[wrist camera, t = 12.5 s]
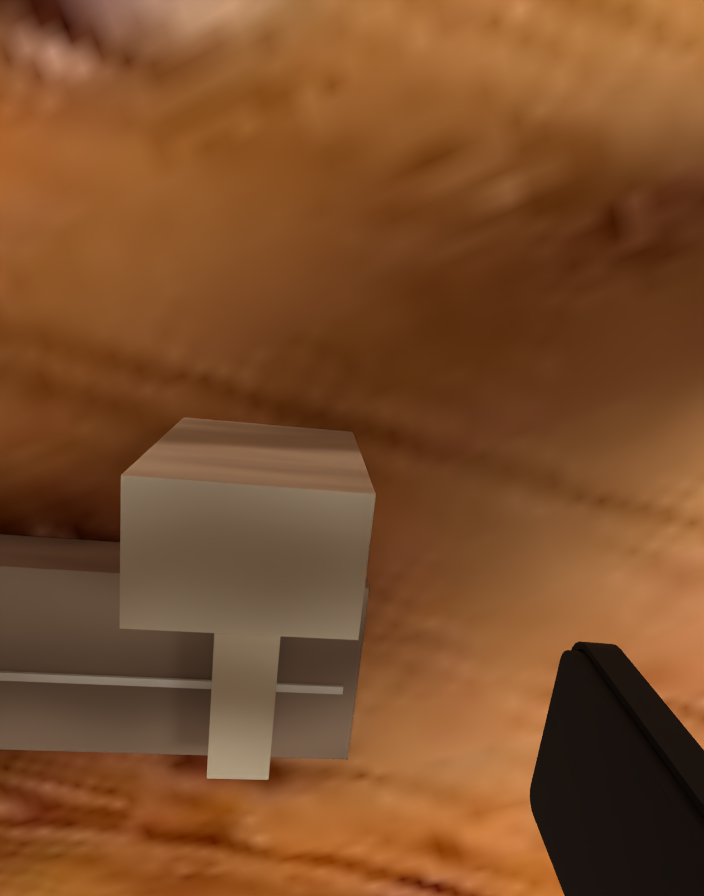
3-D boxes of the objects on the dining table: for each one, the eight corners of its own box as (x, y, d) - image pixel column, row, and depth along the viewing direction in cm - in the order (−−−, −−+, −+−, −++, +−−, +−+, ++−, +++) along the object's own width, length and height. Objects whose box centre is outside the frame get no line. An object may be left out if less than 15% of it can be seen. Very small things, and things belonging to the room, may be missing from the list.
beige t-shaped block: (183, 417, 20) (120, 474, 13) (352, 431, 20) (375, 494, 14) (174, 687, 22) (117, 852, 16) (324, 693, 23) (332, 854, 16)
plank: (-337, 512, 19) (-429, 541, 17) (362, 558, 22) (369, 590, 19) (-303, 690, 21) (-382, 740, 18) (343, 714, 23) (347, 761, 21)
